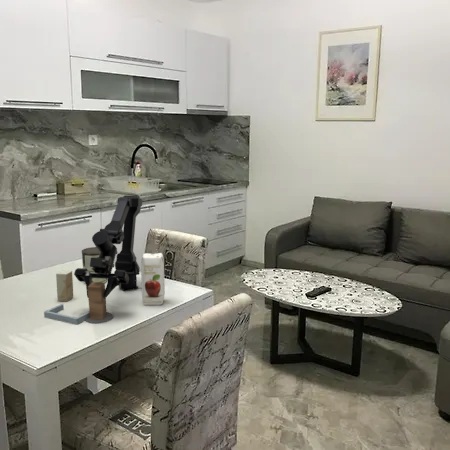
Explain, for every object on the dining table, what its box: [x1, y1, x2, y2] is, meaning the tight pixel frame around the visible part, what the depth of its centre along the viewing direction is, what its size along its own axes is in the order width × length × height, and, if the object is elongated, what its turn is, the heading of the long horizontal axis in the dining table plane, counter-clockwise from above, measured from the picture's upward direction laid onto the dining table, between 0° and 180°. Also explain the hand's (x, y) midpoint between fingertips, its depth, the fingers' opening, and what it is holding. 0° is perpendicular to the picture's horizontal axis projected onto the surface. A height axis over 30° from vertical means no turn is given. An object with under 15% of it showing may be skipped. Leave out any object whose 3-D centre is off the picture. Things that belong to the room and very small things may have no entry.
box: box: [55, 269, 74, 302], centre depth 189 cm, size 5×4×11 cm
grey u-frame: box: [43, 303, 90, 325], centre depth 173 cm, size 8×15×2 cm, turn 65°
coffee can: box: [81, 246, 108, 285], centre depth 211 cm, size 10×10×14 cm
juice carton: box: [140, 252, 166, 306], centre depth 186 cm, size 8×9×19 cm
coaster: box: [84, 311, 114, 324], centre depth 172 cm, size 10×10×1 cm
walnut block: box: [87, 282, 108, 319], centre depth 171 cm, size 4×4×12 cm
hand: (96, 297), depth 169 cm, fingers open, 6 cm apart
